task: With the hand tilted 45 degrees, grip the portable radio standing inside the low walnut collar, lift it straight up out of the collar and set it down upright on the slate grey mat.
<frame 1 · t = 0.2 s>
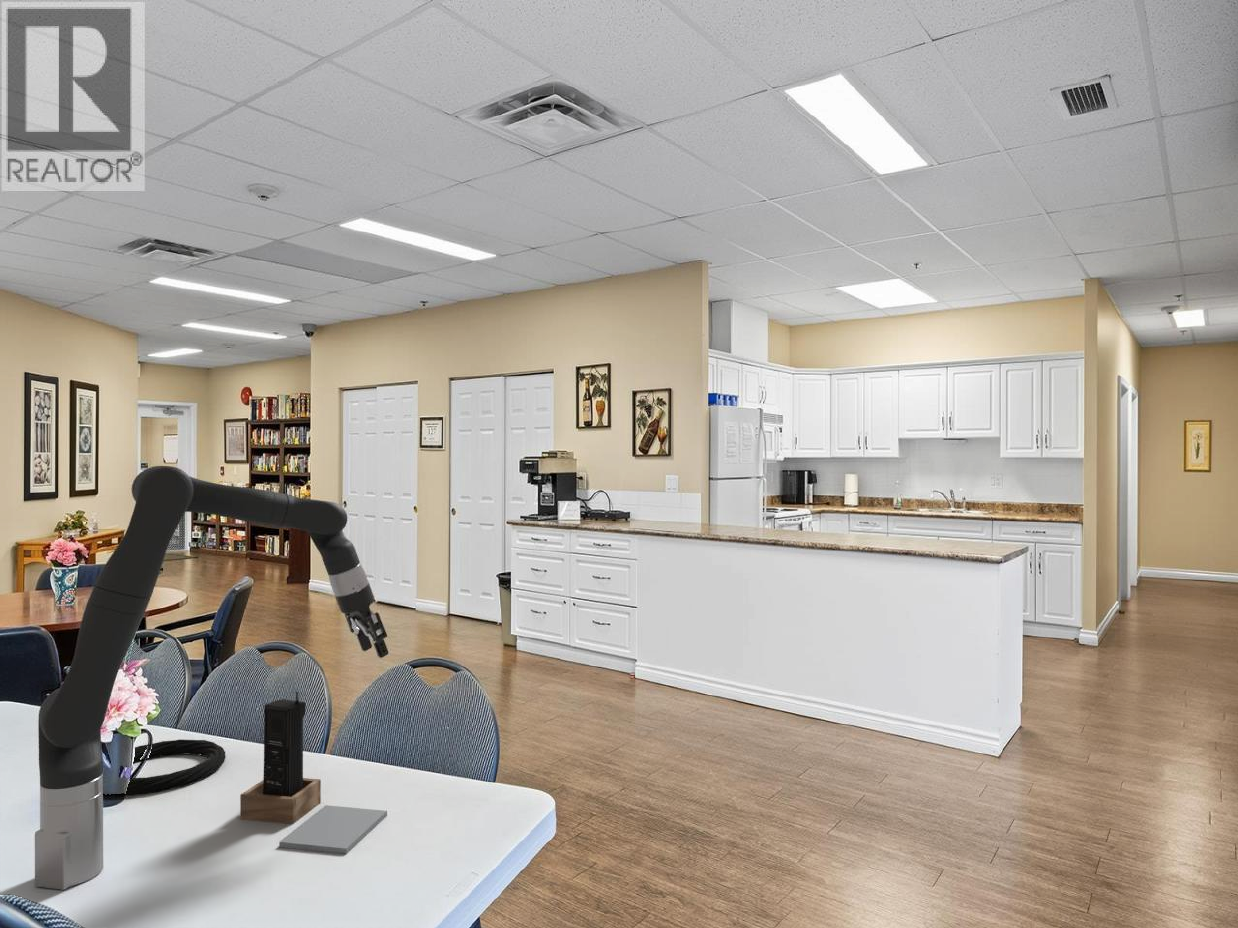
hand: (375, 652, 175), 31 cm above the table, tool tilted 20°, fingers open, 8 cm apart
slate mat: (335, 830, 156), on the table
portable radio: (281, 811, 164), resting in walnut collar
walnut collar: (281, 810, 164), on the table
cable lock: (155, 775, 184), on the table
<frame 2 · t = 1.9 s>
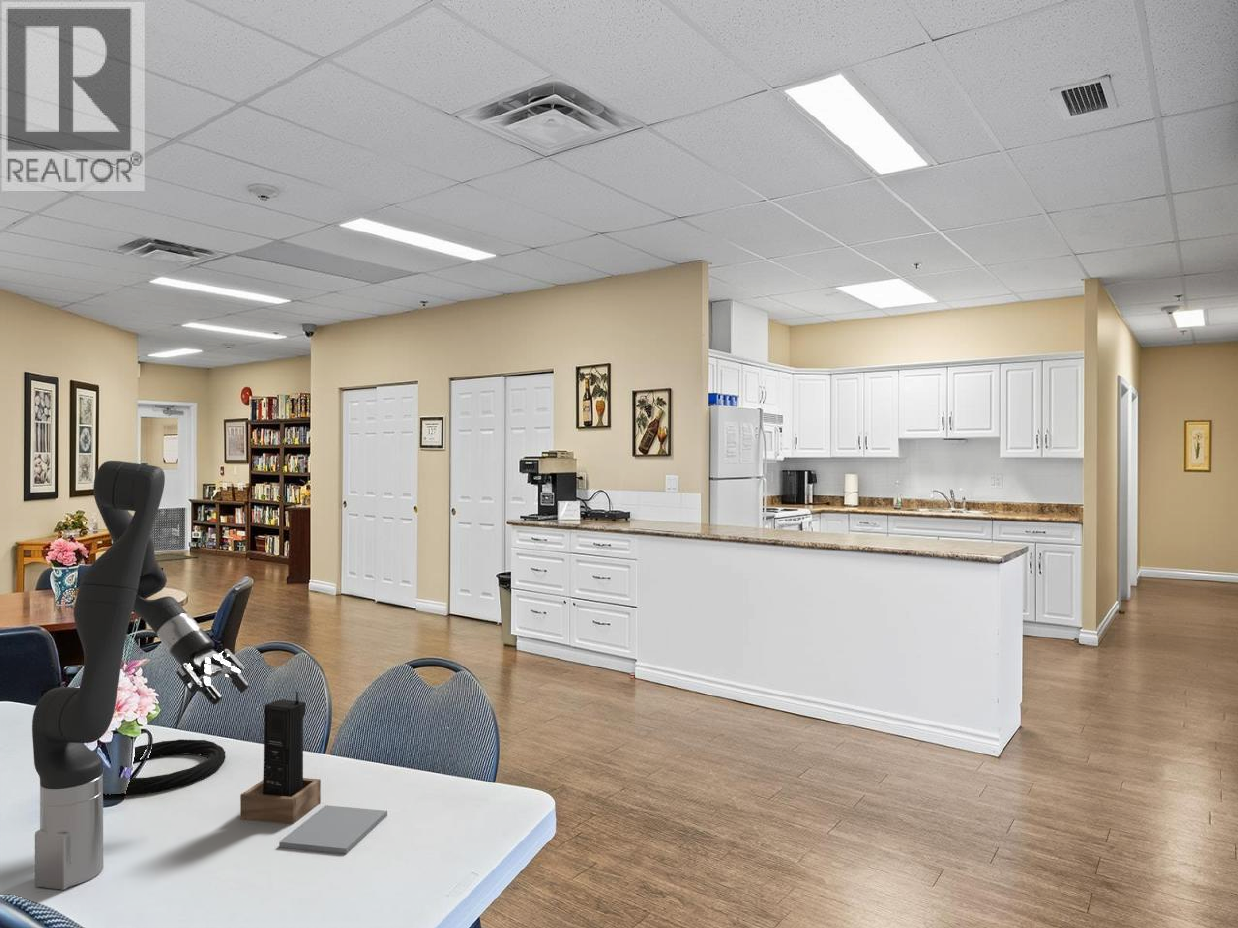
hand: (232, 695, 166), 24 cm above the table, tool tilted 45°, fingers open, 8 cm apart
nothing on the table moved.
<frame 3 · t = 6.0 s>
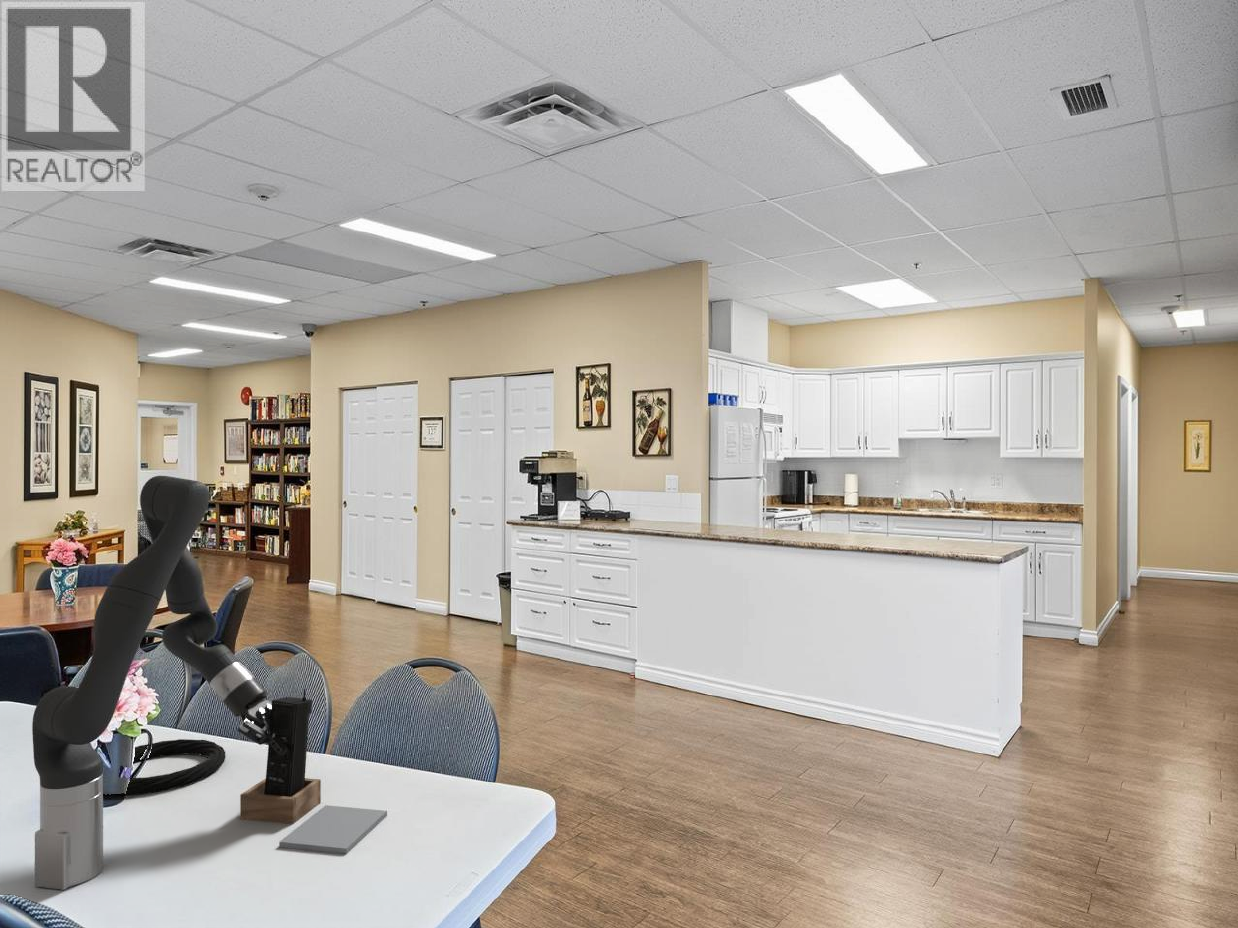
hand: (290, 749, 164), 13 cm above the table, tool tilted 45°, fingers closed
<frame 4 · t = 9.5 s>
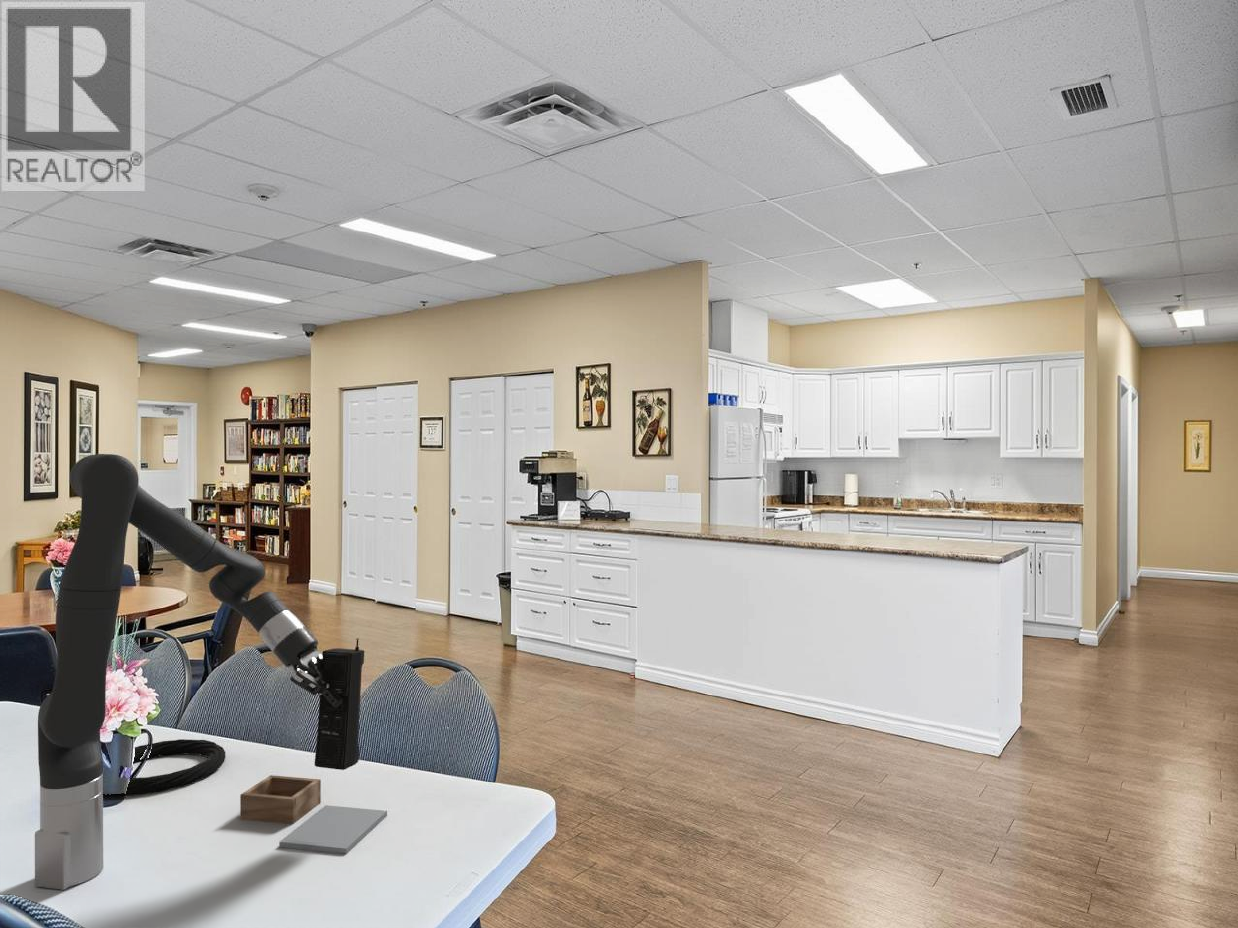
hand: (343, 702, 155), 26 cm above the table, tool tilted 45°, fingers closed on portable radio, 2 cm apart
portable radio: (334, 765, 156), point 13 cm above the table, touching gripper, hand
everything else where it was.
when the fingers open (15 cm above the table, at t = 12.7 s): portable radio drops 1 cm, resting on slate mat.
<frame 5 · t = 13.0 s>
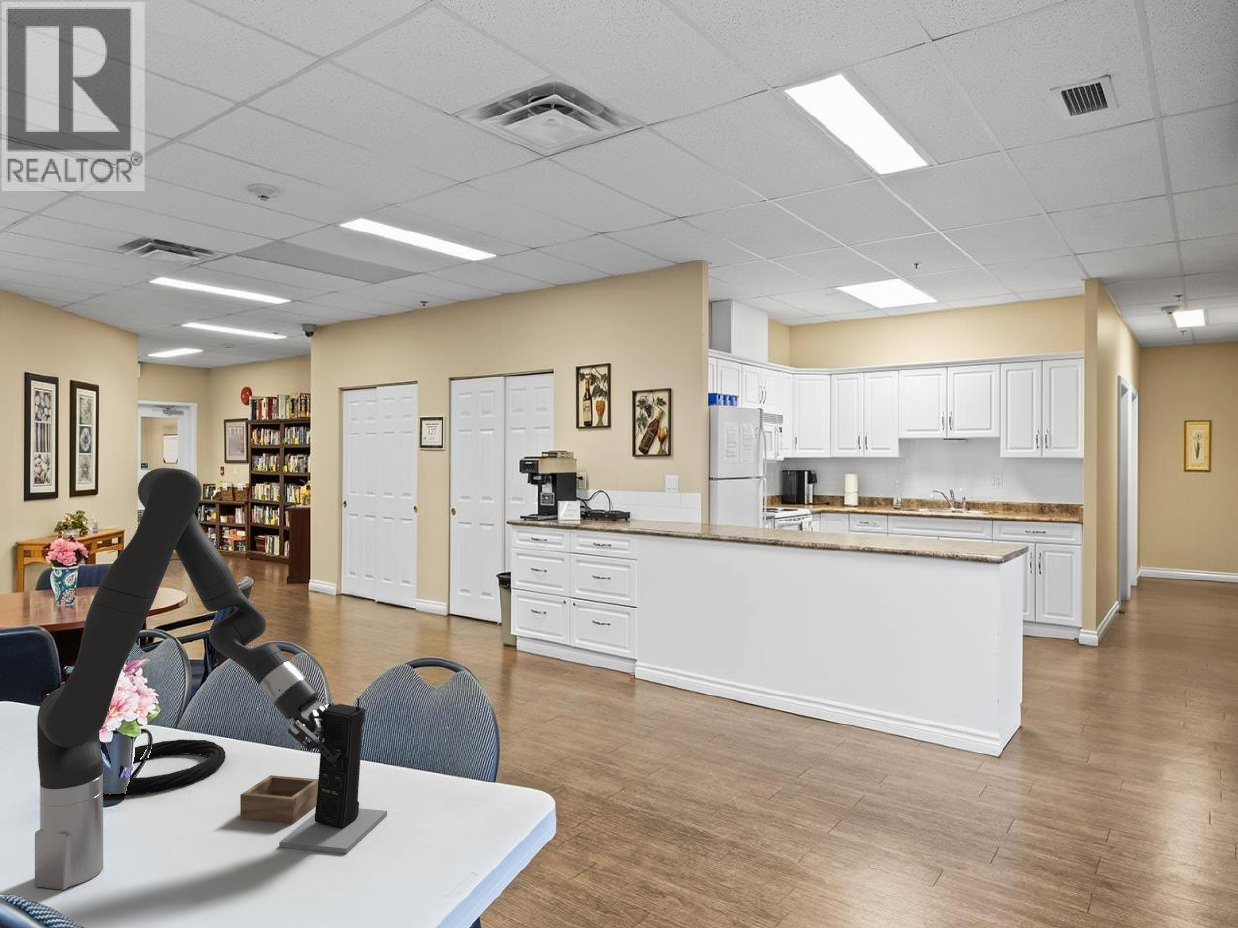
hand: (343, 753, 155), 16 cm above the table, tool tilted 45°, fingers open, 5 cm apart
portable radio: (334, 820, 157), point 1 cm above the table, touching slate mat
everything else where it was.
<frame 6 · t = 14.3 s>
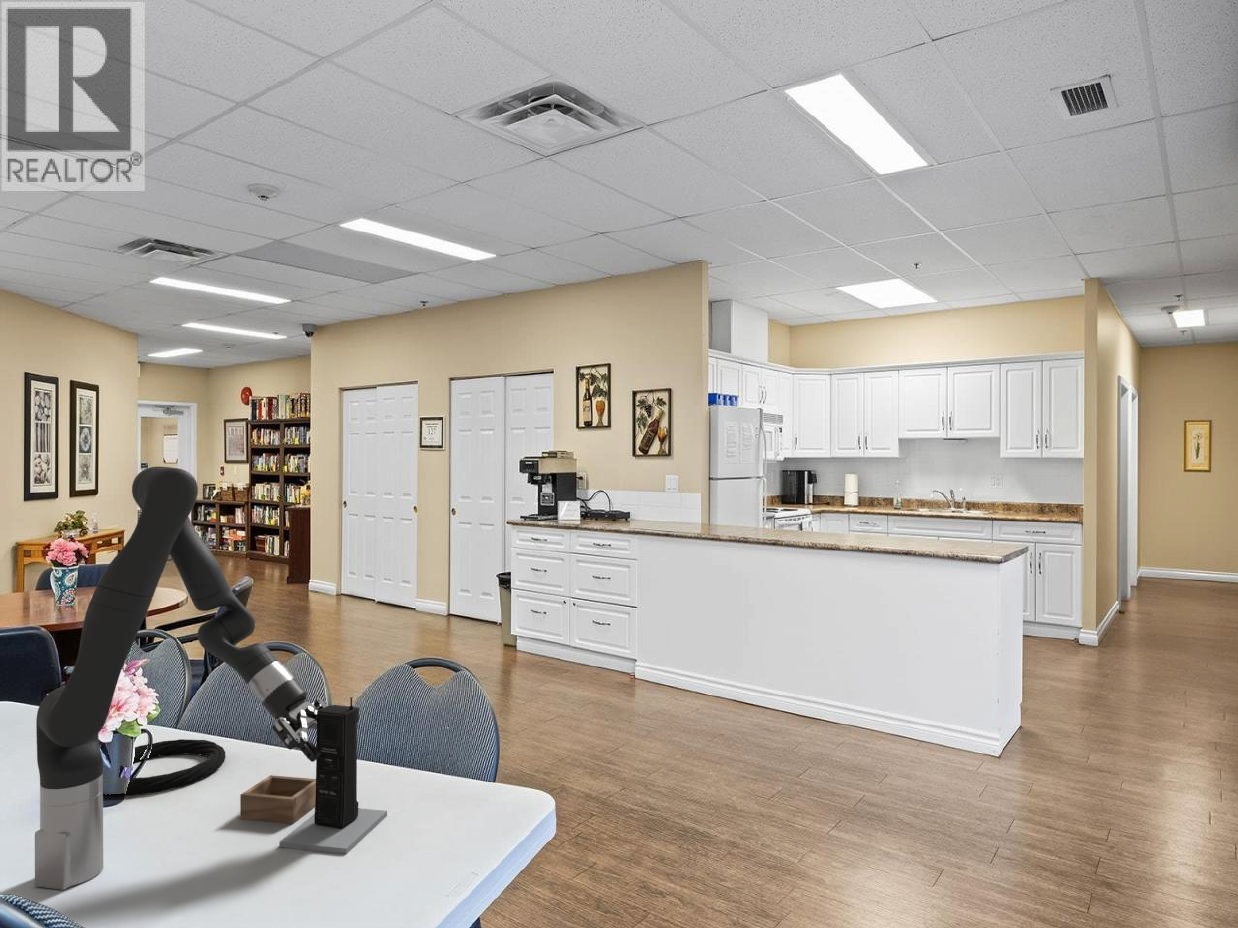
hand: (329, 750, 155), 16 cm above the table, tool tilted 45°, fingers open, 8 cm apart
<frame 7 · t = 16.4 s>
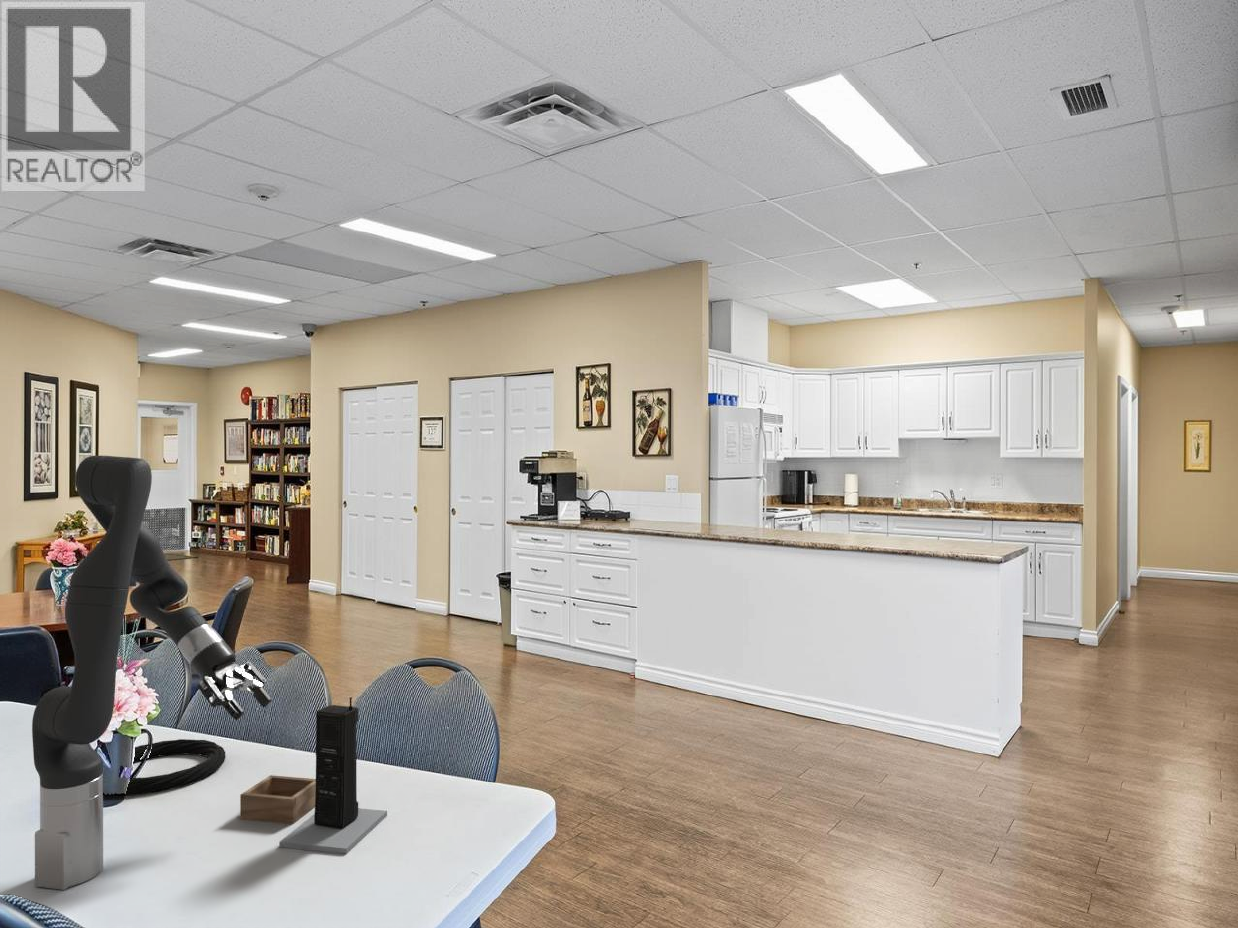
hand: (254, 710, 160), 22 cm above the table, tool tilted 45°, fingers open, 8 cm apart
nothing on the table moved.
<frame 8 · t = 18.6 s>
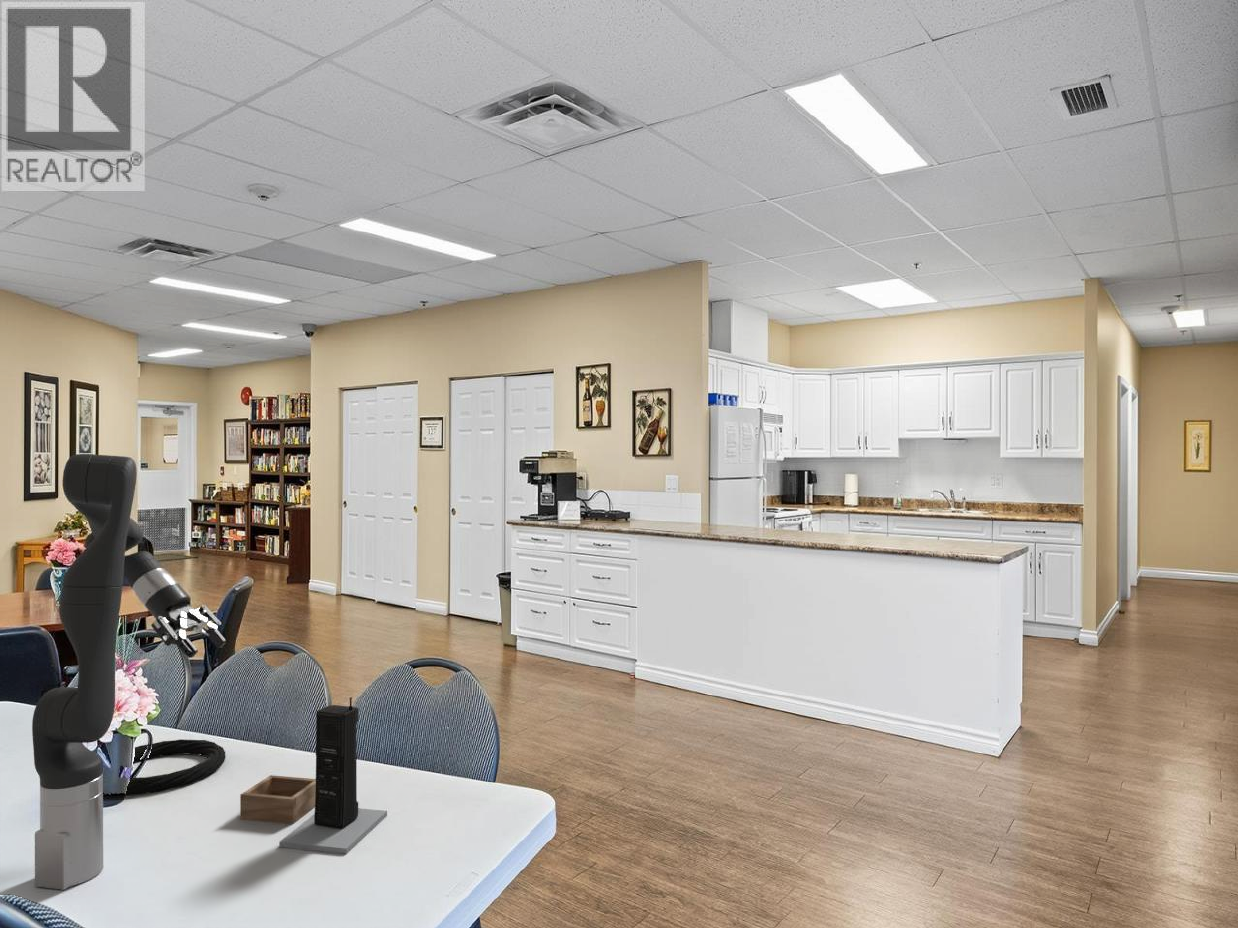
hand: (208, 650, 165), 34 cm above the table, tool tilted 45°, fingers open, 8 cm apart
nothing on the table moved.
at the end: portable radio inside the target area on the slate mat (2.1 cm from its centre), point 0.8 cm above the slate mat's base; portable radio tilted 0°; the gripper is holding nothing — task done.
